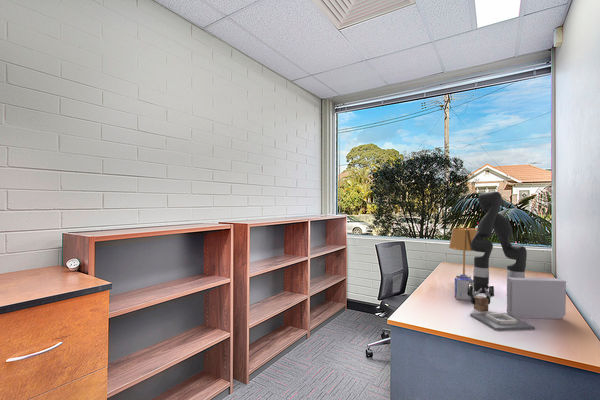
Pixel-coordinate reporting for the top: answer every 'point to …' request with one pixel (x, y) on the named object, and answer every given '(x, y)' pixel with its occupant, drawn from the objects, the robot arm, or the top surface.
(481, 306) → the walnut block
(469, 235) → the lamp
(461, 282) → the ink cartridge box
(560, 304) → the game console
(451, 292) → the top surface
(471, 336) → the top surface
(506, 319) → the baseplate
